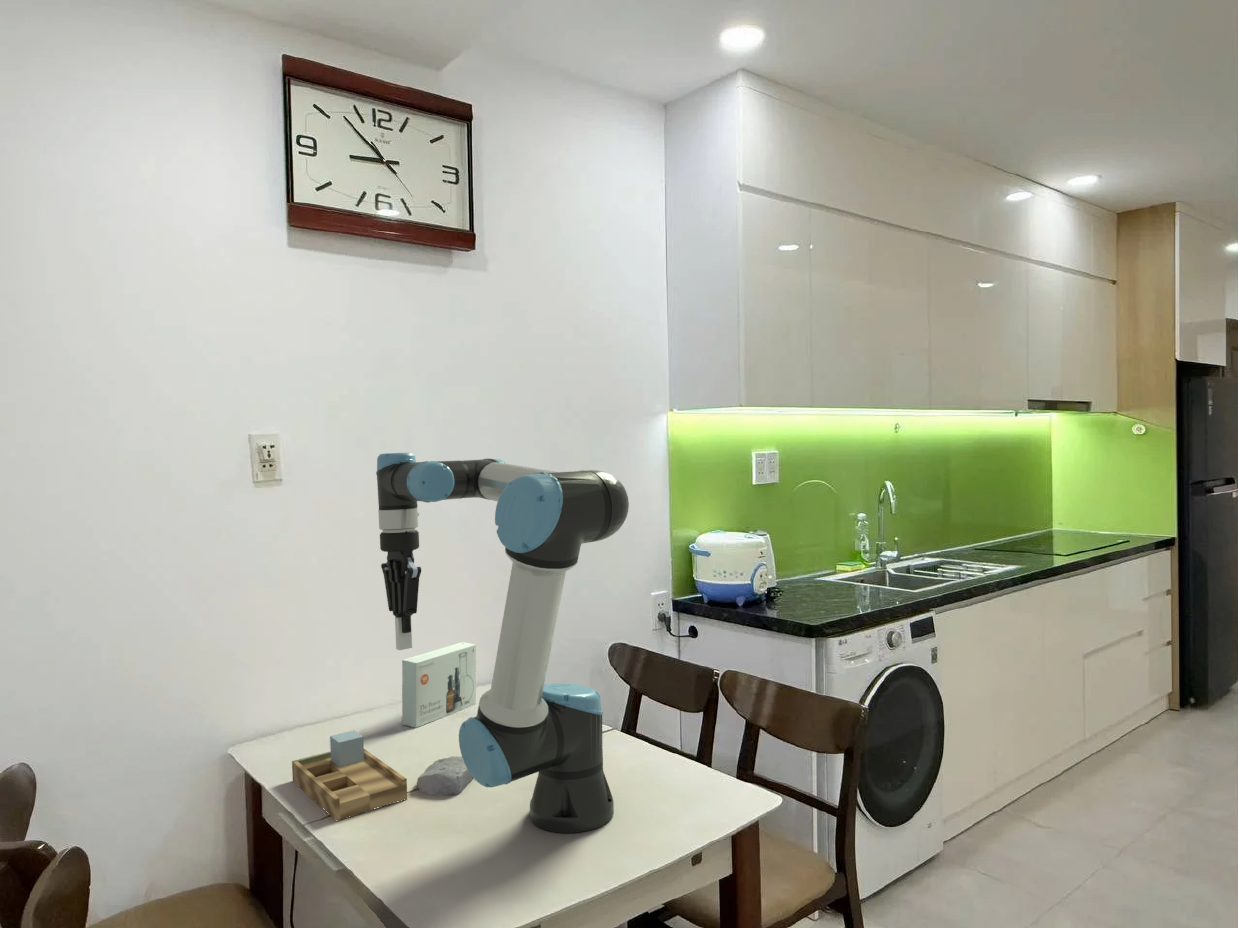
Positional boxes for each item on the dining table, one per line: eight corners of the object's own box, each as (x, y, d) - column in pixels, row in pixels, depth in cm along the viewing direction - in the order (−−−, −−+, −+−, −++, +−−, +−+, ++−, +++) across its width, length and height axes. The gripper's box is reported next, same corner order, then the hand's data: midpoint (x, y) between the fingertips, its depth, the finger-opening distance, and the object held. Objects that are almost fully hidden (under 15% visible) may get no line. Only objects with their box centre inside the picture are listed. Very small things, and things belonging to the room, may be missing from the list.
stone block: (415, 803, 163) (463, 795, 161) (410, 778, 163) (457, 770, 161) (439, 780, 175) (483, 773, 173) (434, 757, 175) (479, 750, 173)
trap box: (407, 799, 160) (406, 778, 160) (335, 821, 152) (335, 799, 151) (358, 762, 179) (358, 744, 179) (292, 780, 170) (292, 760, 170)
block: (364, 760, 172) (363, 736, 172) (339, 767, 169) (339, 742, 169) (354, 753, 176) (353, 730, 176) (330, 759, 173) (330, 735, 173)
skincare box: (417, 729, 199) (415, 662, 199) (401, 725, 202) (399, 659, 202) (478, 704, 217) (476, 643, 216) (462, 701, 220) (461, 640, 219)
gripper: (432, 530, 165) (437, 650, 165) (401, 527, 175) (406, 640, 175) (396, 533, 160) (401, 657, 161) (367, 530, 170) (372, 646, 170)
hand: (404, 648), depth 168 cm, fingers closed
